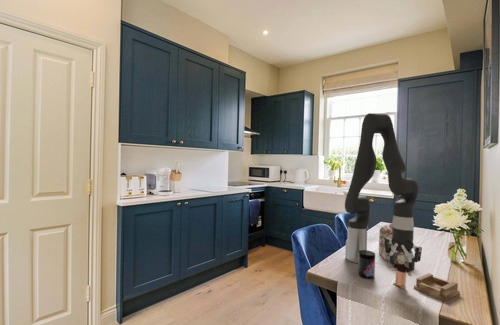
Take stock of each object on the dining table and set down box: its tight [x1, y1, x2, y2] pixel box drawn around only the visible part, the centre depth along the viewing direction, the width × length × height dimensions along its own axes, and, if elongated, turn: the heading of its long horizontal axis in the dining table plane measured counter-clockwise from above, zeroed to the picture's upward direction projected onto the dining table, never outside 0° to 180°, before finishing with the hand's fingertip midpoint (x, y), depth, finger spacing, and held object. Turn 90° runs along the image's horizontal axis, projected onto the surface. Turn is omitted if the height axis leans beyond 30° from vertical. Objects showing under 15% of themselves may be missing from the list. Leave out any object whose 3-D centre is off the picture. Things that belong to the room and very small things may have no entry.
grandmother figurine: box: [391, 255, 413, 289], centre depth 107 cm, size 8×4×13 cm, turn 45°
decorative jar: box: [378, 222, 409, 263], centre depth 139 cm, size 12×12×18 cm
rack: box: [413, 273, 461, 302], centre depth 104 cm, size 11×12×4 cm
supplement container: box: [357, 249, 376, 280], centre depth 116 cm, size 7×7×10 cm
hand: (401, 267), depth 107 cm, fingers closed on grandmother figurine, 6 cm apart
